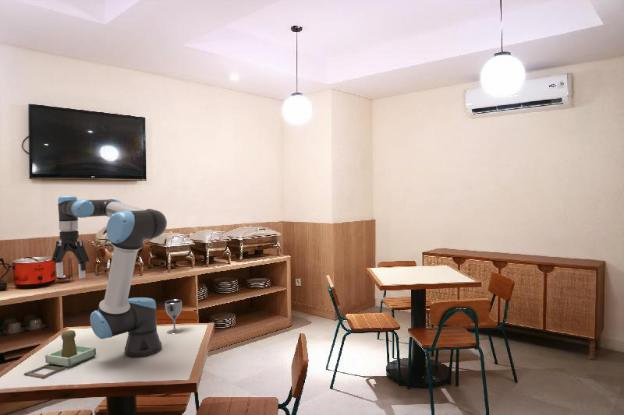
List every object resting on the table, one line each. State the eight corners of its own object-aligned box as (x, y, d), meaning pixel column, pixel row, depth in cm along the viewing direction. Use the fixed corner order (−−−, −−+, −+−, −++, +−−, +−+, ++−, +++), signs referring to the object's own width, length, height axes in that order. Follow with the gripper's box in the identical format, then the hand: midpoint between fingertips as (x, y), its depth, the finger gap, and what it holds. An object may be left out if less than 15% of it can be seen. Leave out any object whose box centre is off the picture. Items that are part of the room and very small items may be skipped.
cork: (57, 359, 177) (56, 333, 177) (68, 354, 183) (67, 328, 183) (70, 360, 176) (69, 333, 176) (81, 355, 182) (80, 329, 182)
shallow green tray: (96, 354, 184) (95, 347, 184) (69, 366, 172) (68, 358, 172) (73, 351, 189) (73, 344, 189) (45, 362, 177) (45, 355, 177)
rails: (94, 356, 185) (94, 355, 185) (44, 378, 163) (44, 376, 163) (75, 354, 189) (75, 352, 189) (23, 375, 167) (23, 373, 167)
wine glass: (168, 329, 220) (167, 300, 220) (184, 328, 221) (183, 299, 221) (164, 334, 213) (163, 303, 212) (181, 333, 213) (180, 303, 213)
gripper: (96, 229, 195) (98, 276, 196) (56, 229, 204) (58, 274, 205) (82, 231, 188) (84, 280, 189) (41, 231, 197) (43, 277, 198)
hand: (71, 277), depth 197 cm, fingers open, 13 cm apart
